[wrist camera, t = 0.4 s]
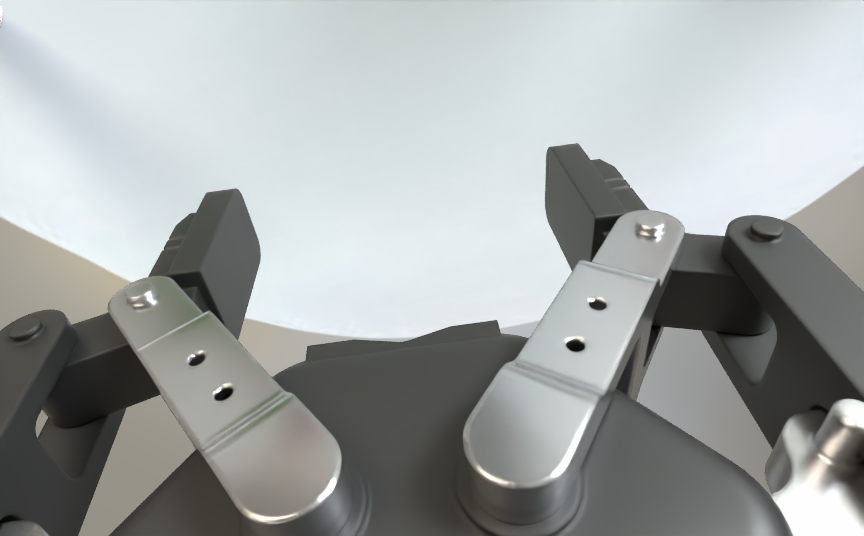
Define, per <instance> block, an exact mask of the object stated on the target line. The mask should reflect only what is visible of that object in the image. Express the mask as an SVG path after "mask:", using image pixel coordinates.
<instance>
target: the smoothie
mask: <svg viewBox="0 0 864 536" xmlns="http://www.w3.org/2000/svg"><path fill="white" fill-rule="evenodd" d="M2 20H3V14H2V9H1V6H0V26H1V24H2Z"/></svg>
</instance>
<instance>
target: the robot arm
mask: <svg viewBox="0 0 864 536" xmlns="http://www.w3.org/2000/svg"><path fill="white" fill-rule="evenodd" d="M545 208H546V215H547V219H548V222H549V225H550V227H551V229H552V231H553V233H554V235H555V237H556V239H557V241H558V243H559V245H560V247H561V249H562V251H563V253H564V255H565V257H566V259H567V261H568V264H569V266H570V268H571V270H572V273H571V274H570V276H569V277H568V279H567V280H566V282H565V284H564V285H563V287H562V288H561V290H560V291H559V293H558V294H557V296H556V297H555V299H554V301H553V302H552V304H551V305H550V307H549V308H548V310H547V311H546V313H545V315H544V316H543V318H542V319H541V321H540V323H539V324H538V326H537V327H536V329H535V330H534V332H533V333H532V335H531V336H530V338H525V337H522V336H517V335H510V334H501V333H500V329H499V325H498V322H497V320H494V321H487V322H480V323H472V324H465V325H458V326H451V327H448V328H445V329H442V330H439V331H436V332H433V333H430V334H427V335H424V336H421V337H418V338H415V339H412V340H409V341H405V342H387V341H369V340H348V341H341V342H334V343H326V344H320V345H312V346H308V347H307V354H306V361H303V362H300V363H298V364H295V365H293V366H291V367H289V368H287V369H285V370H283V371H281V372H279V373H278V374H276V375H275V376H273V377H271V376H270V375H269V374H268V373H267V371H266V370H265V369H264V368H263V367H262V366H261V365H260V364H259V363H258V362H257V361H256V360H255V358H254V357H253V356H252V355H251V354H250V353H249V352H248V351H247V350H246V349H245V348H244V347H243V345H242V344H241V343H240V342H239V341H238V338H239V335H240V331H241V328H242V324H243V321H244V317H245V313H246V310H247V306H248V303H249V299H250V296H251V292H252V289H253V285H254V282H255V278H256V274H257V271H258V267H259V264H260V257H261V254H260V245H259V241H258V238H257V235H256V232H255V229H254V227H253V224H252V221H251V218H250V216H249V213H248V210H247V207H246V205H245V202H244V199H243V197H242V194H241V193H240V191H239V190H238V189H229V190H222V191H214V192H207V193H206V194H205V196H204V198H203V200H202V202H201V204H200V206H199V208H198V210H197V212H196V213H191V214H189V215H188V216H187V217H185V218H184V219H183V220H182V221H181V222H180V223H178V224H177V225H176V226H175V228H174V230H173V232H172V234H171V236H170V237H169V239H170V240H168V241H167V243H166V245H165V247H164V250H163V251H162V252H161V254H160V256H159V258H158V260H157V262H156V263H155V265H154V267H153V269H152V271H151V273H150V274H149V276H148V277H147V278H143V279H140V280H137V281H135V282H133V283H131V284H129V285H127V286H125V287H124V288H122V289H121V290H120V291H118V292H117V293H116V294H115V295H114V296H113V297H112V299H111V300H110V302H109V304H108V313H106V314H103V315H100V316H97V317H94V318H91V319H88V320H85V321H82V322H79V323H76V324H73V325H72V324H71V323H70V322H69V320H68V319H67V317H66V316H65V314H64V313H62V312H61V311H58V310H43V311H38V312H34V313H32V314H28V315H26V316H24V317H21V318H19V319H18V320H16V321H14V322H12V323H10V324H9V325H8V326H6V327H5V328H3V329H2V330H1V331H0V536H78V534H79V532H80V529H81V526H82V524H83V521H84V519H85V516H86V513H87V510H88V508H89V505H90V503H91V500H92V498H93V495H94V492H95V490H96V487H97V484H98V481H99V479H100V476H101V474H102V471H103V469H104V466H105V463H106V461H107V458H108V455H109V453H110V450H111V447H112V445H113V442H114V440H115V437H116V434H117V431H118V429H119V426H120V424H121V421H122V418H123V416H124V413H125V410H126V408H127V407H129V406H132V405H134V404H137V403H139V402H142V401H145V400H147V399H150V398H152V397H155V396H158V395H161V396H162V398H163V399H164V401H165V402H166V404H167V405H168V407H169V409H170V410H171V412H172V413H173V415H174V416H175V418H176V419H177V421H178V422H179V424H180V425H181V427H182V428H183V430H184V432H185V433H186V435H187V436H188V438H189V439H190V441H191V442H192V444H193V446H194V447H195V448H196V450H195V451H194V452H193V453H192V454H191V455H190V456H189V457H188V458H187V459H186V460H185V461H184V462H183V463H182V464H181V465H180V466H179V467H178V468H177V469H176V470H175V471H174V472H173V473H172V474H171V475H170V476H169V477H168V478H167V479H166V480H165V481H164V482H163V483H162V484H161V485H160V486H159V487H158V488H157V489H156V490H155V491H154V492H153V493H152V494H151V495H149V497H147V499H145V501H143V502H142V503H141V504H140V505H139V506H138V507H137V508H136V510H134V512H132V513H131V514H130V515H129V516H128V517H127V518H126V519H125V520H124V521H123V522H122V523H121V524H120V525H119V526H118V527H117V528H116V529H115V530H114V531H113V532H112V533H111V534H110V535H109V536H864V292H863V291H862V290H861V289H860V288H859V287H858V286H857V285H856V284H855V283H854V282H853V281H852V280H851V279H850V278H849V277H848V276H847V275H846V274H845V273H844V272H842V270H841V269H839V268H838V267H837V266H836V265H835V264H834V263H833V262H832V261H831V260H830V259H829V258H828V257H827V256H826V255H825V254H824V253H823V252H822V251H821V250H820V249H819V248H818V247H817V246H816V245H815V244H814V243H813V242H812V241H811V240H809V239H808V238H807V237H806V236H805V235H804V234H803V233H802V232H801V231H800V230H799V229H798V228H797V227H795V226H794V225H792V224H790V223H788V222H786V221H783V220H780V219H777V218H773V217H768V216H760V215H751V216H743V217H739V218H736V219H734V220H733V221H731V222H730V223H729V224H728V227H727V230H726V234H725V236H713V235H696V234H688V233H685V229H684V226H683V224H682V223H681V222H680V221H679V220H678V219H676V218H675V217H673V216H671V215H669V214H666V213H662V212H658V211H651V210H649V209H648V208H647V207H646V206H645V204H644V203H643V202H642V201H641V199H640V198H639V197H638V195H637V194H636V193H635V192H634V190H633V189H632V188H630V185H629V184H628V183H627V182H626V180H623V177H622V175H621V174H620V173H619V172H618V170H617V169H616V168H615V167H614V166H612V165H610V164H608V163H606V162H604V161H602V160H600V159H597V160H590V159H589V157H588V156H587V155H586V153H585V152H584V151H583V149H582V148H581V146H580V145H579V144H578V143H576V144H569V145H561V146H554V147H549V148H548V150H547V155H546V185H545ZM664 327H673V328H684V329H694V330H701V331H702V333H703V335H704V337H705V338H706V340H707V342H708V343H709V345H710V347H711V348H712V350H713V351H714V353H715V355H716V357H717V358H718V360H719V361H720V363H721V365H722V366H723V368H724V370H725V371H726V373H727V375H728V376H729V378H730V380H731V381H732V383H733V385H734V386H735V388H736V389H737V391H738V393H739V394H740V396H741V398H742V399H743V401H744V403H745V404H746V406H747V408H748V409H749V411H750V412H751V414H752V416H753V417H754V419H755V421H756V422H757V424H758V426H759V427H760V429H761V431H762V432H763V434H764V436H765V437H766V439H767V440H768V442H769V444H770V445H771V447H772V449H773V450H772V452H771V454H770V457H769V459H768V461H767V463H766V467H765V477H766V481H767V484H768V486H769V489H770V491H771V494H770V495H769V493H768V492H767V491H766V490H765V489H764V488H763V487H762V486H761V485H760V484H759V483H758V482H757V481H756V480H755V479H754V478H753V477H752V476H750V475H749V474H748V473H747V472H746V471H745V470H743V469H742V468H740V467H739V466H738V465H736V464H735V463H733V462H732V461H730V460H729V459H727V458H726V457H724V456H722V455H721V454H719V453H717V452H716V451H714V450H713V449H711V448H710V447H708V446H706V445H705V444H703V443H702V442H700V441H699V440H697V439H695V438H694V437H692V436H691V435H689V434H688V433H686V432H684V431H683V430H681V429H680V428H678V427H676V426H675V425H673V424H672V423H670V422H668V421H667V420H665V419H664V418H662V417H661V416H659V415H657V414H656V413H654V412H653V411H651V410H650V409H648V408H646V407H645V406H643V405H642V404H640V403H638V402H637V401H636V400H637V397H638V393H639V390H640V387H641V384H642V381H643V379H644V376H645V374H646V371H647V369H648V366H649V364H650V361H651V359H652V356H653V354H654V351H655V349H656V346H657V344H658V342H659V339H660V336H661V334H662V332H663V328H664ZM41 410H43V411H44V412H45V414H46V415H47V416H48V419H47V421H46V423H45V425H44V427H43V429H42V431H41V433H40V435H39V437H38V438H37V437H36V431H35V425H36V420H37V418H38V415H39V414H40V412H41Z"/></svg>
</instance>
